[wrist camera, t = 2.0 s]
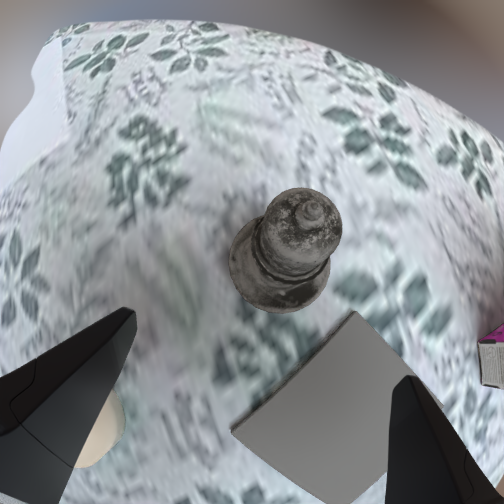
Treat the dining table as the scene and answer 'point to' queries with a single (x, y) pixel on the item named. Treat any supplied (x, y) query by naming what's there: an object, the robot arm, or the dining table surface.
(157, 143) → the dining table surface
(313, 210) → the grey chess piece
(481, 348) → the candy bar box
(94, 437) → the cream rounded squat cylinder
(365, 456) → the mat
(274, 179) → the dining table surface
